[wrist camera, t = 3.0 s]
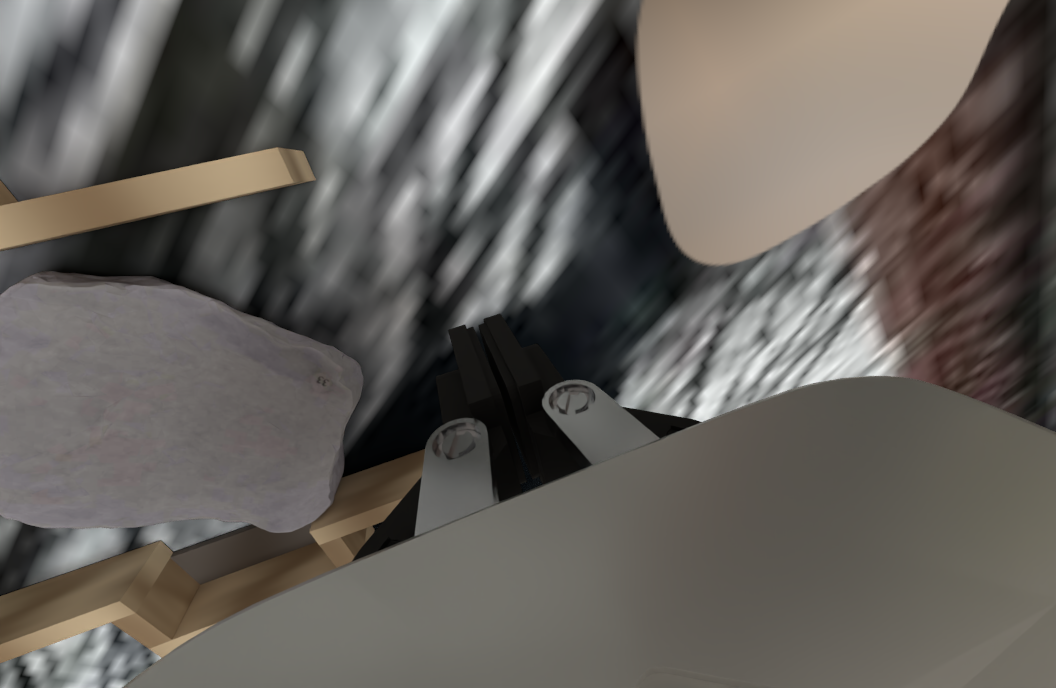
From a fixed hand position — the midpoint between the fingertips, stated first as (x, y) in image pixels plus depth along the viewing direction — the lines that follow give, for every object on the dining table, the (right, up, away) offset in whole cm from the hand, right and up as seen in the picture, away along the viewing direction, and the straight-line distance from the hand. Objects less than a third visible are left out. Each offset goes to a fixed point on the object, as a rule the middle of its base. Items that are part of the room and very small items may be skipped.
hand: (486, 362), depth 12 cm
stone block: (-13, -1, +5) cm, 14 cm away
